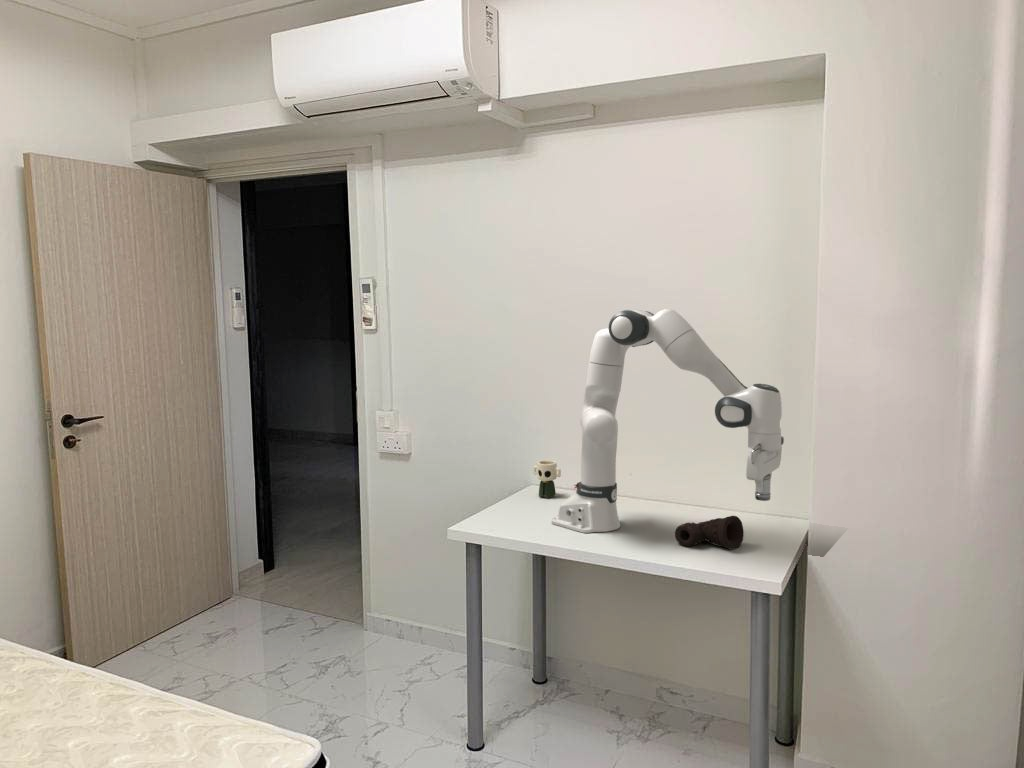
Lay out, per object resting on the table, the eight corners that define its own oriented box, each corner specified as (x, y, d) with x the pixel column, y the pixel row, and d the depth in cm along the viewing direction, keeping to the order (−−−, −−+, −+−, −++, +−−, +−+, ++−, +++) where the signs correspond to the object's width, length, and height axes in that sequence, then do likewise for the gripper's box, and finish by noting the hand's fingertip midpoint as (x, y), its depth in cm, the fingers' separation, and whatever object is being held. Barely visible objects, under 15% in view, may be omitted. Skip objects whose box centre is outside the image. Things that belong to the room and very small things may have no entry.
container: (767, 501, 218) (768, 477, 217) (752, 499, 220) (753, 475, 219) (772, 498, 221) (773, 474, 220) (757, 496, 224) (758, 472, 223)
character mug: (529, 497, 286) (529, 462, 284) (537, 492, 292) (537, 459, 291) (556, 500, 281) (556, 465, 279) (564, 496, 287) (564, 461, 286)
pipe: (671, 519, 232) (715, 520, 221) (699, 512, 242) (742, 513, 231) (674, 551, 231) (718, 554, 221) (702, 543, 242) (746, 546, 231)
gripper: (764, 449, 208) (762, 499, 210) (785, 436, 225) (784, 483, 227) (740, 446, 212) (739, 495, 214) (764, 434, 229) (762, 480, 230)
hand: (762, 489), depth 220 cm, fingers closed on container, 4 cm apart
